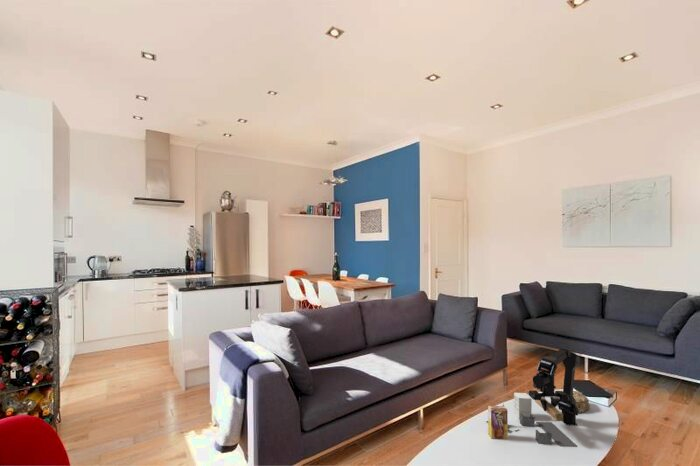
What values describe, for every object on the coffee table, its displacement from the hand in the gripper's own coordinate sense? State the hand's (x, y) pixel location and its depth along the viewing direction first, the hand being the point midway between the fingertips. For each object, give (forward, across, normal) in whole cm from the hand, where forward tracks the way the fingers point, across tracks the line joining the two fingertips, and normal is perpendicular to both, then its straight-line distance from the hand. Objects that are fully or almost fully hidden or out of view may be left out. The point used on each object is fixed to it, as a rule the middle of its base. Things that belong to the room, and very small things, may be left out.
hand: (548, 411), depth 178 cm
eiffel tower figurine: (+12, +22, -6) cm, 26 cm away
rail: (0, 0, 0) cm, 0 cm away
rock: (+14, -32, -30) cm, 47 cm away
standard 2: (+12, +7, +8) cm, 16 cm away
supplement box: (+12, +6, -16) cm, 21 cm away
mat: (+12, -4, 0) cm, 13 cm away
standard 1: (+12, +8, -8) cm, 16 cm away
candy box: (+12, +30, +5) cm, 32 cm away
